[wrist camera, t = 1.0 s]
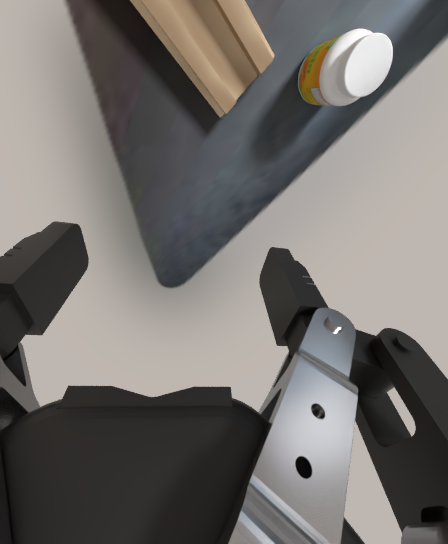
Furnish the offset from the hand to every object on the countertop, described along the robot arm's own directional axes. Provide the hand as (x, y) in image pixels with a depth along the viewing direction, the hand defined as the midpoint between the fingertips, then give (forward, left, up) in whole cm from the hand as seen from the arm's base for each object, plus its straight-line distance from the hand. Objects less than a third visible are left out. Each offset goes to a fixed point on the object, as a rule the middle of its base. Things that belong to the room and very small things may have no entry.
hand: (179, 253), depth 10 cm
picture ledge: (-9, -8, -25) cm, 28 cm away
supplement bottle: (-16, +5, -26) cm, 31 cm away
